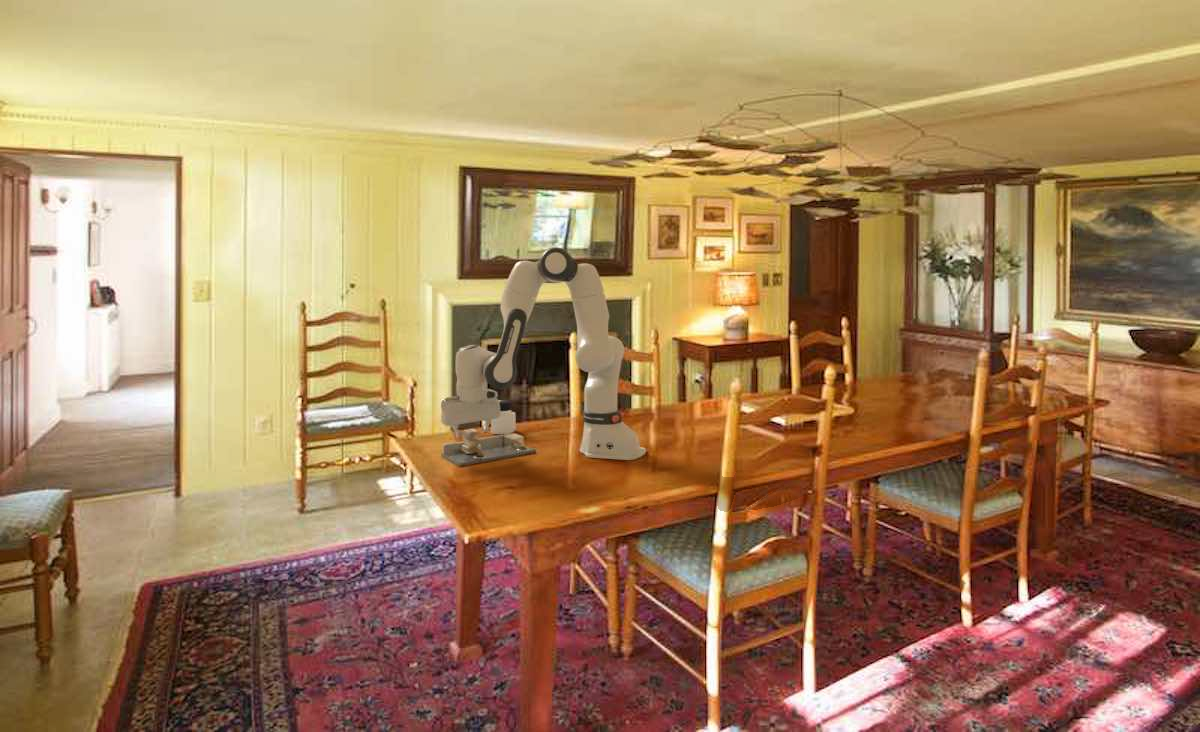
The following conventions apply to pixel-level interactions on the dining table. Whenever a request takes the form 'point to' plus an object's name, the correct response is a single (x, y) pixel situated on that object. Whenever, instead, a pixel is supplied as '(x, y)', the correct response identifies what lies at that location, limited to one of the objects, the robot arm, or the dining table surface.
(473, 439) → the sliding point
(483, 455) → the divider plate
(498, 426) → the medicine bottle
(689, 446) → the dining table surface
